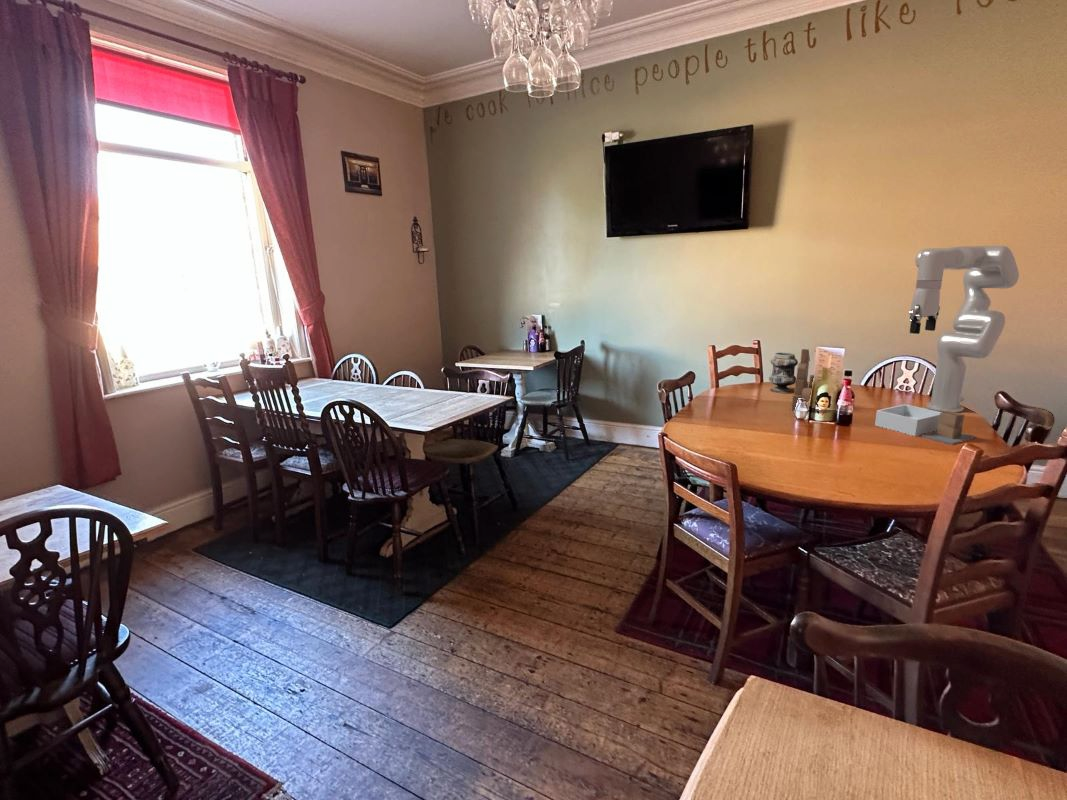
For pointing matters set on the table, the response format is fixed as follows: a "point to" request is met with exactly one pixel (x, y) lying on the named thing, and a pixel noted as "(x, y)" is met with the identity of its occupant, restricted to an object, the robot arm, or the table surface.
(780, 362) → the apothecary jar
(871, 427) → the table surface
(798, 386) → the wooden toy
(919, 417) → the box
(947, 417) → the walnut block
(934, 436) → the slate mat
